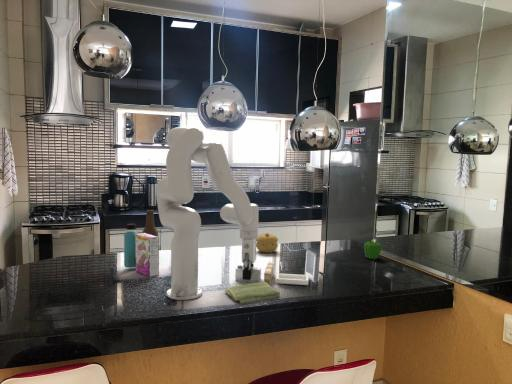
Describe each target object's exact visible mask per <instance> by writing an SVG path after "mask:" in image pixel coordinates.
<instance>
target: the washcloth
mask: <svg viewBox="0 0 512 384" xmlns="http://www.w3.org/2000/svg"><path fill="white" fill-rule="evenodd" d="M224 292H226V293H227V294H228V295H229V296H230V297H231V298H232V299H233V300H234V301H235V302H236V301H237V302H238V303H240V304H246V303H253V302H258V301H259V302H260V301H264V300H269V299H275V298H276V299H277V298H278V297H280V295H281V292H280V291H279V290H278V289H276V288H274V287H273V286H271V285H269V284H268V283H266V282H264V280H262V281H260V282H255V283H254V282H253V283H252V282H251V283H245V284H241V285H233V286H230V287H228V288H226V289H225V290H224Z"/></svg>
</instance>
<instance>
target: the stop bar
mask: <svg viewBox="0 0 512 384" xmlns="http://www.w3.org/2000/svg"><path fill="white" fill-rule="evenodd" d="M250 270H251V279H250V280H243V265H240V264H239V265H236V267H235V276H234V277H235V278H234V279H235V281H238V282H239V281H240V282H241V281H242V282H255V283H258V282H261V279H262V267H261V266H254V267H250Z"/></svg>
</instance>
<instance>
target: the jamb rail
mask: <svg viewBox="0 0 512 384" xmlns="http://www.w3.org/2000/svg"><path fill="white" fill-rule="evenodd" d="M266 264H267V265H266V267H265V270H264V273H263V275H264V276H263V281H264V282H266V283H268V284H269V285H270V286H271V284H272V280H273V278H274V277H273V276H274V266H275V265H274V264H275V263H274V262H268V263H266Z"/></svg>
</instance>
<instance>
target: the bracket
mask: <svg viewBox="0 0 512 384" xmlns="http://www.w3.org/2000/svg"><path fill="white" fill-rule="evenodd" d="M275 276H276V277H275V284H282V285H283V284H285V285H286V284H287V285H298V286H299V285H302V286H303V285H304V286H309V274H293V273H276V275H275Z"/></svg>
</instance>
